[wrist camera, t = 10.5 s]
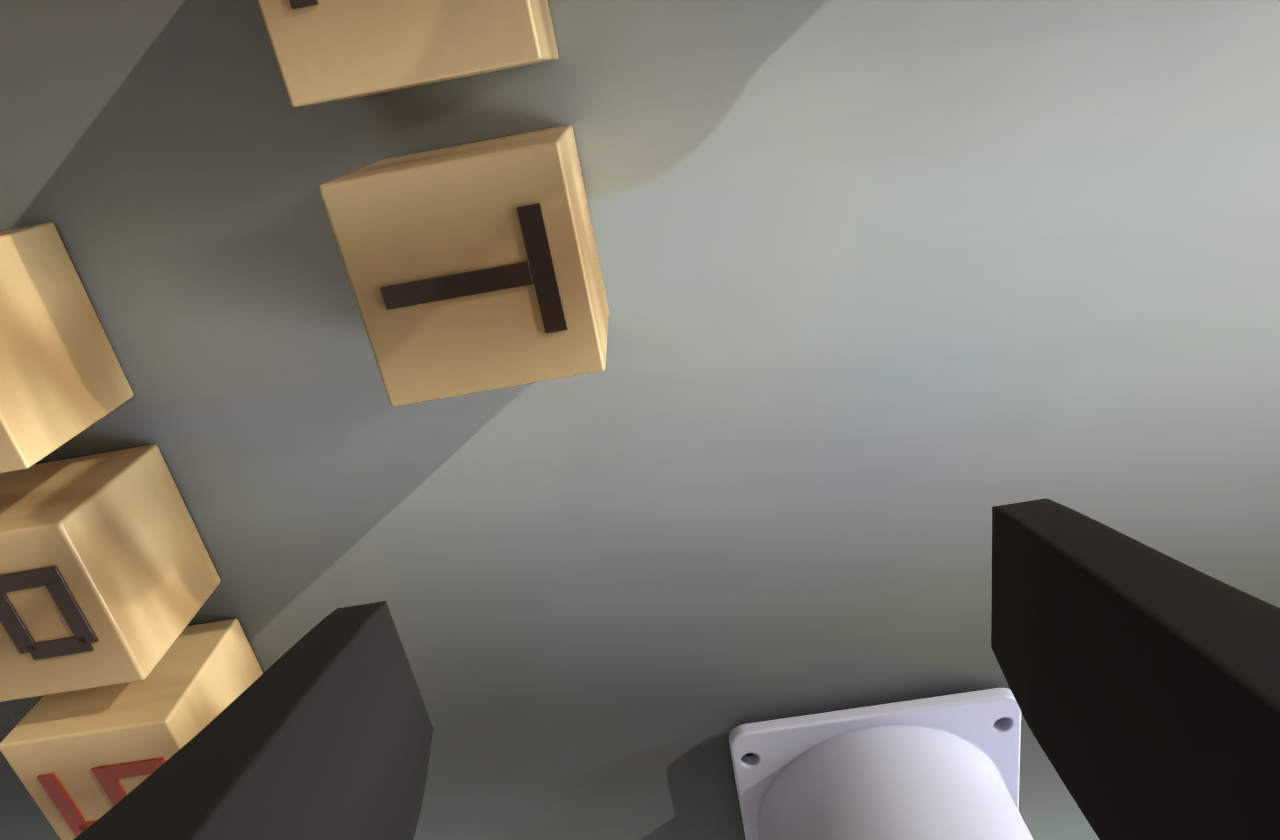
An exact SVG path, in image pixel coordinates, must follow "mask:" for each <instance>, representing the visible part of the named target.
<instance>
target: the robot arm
mask: <svg viewBox="0 0 1280 840" xmlns="http://www.w3.org/2000/svg"><path fill="white" fill-rule="evenodd" d="M991 647H992V650H993V652H994V654H995V656H996V658H997V661H998V663H999V665H1000V667H1001V669H1002V672H1003V674H1004V676H1005V678H1006V680H1007V683H1008V685H1009V687H1010V689H1011V690H1010V689H1007V688H993V689H986V690H979V691H972V692H965V693H958V694H951V695H944V696H937V697H930V698H923V699H916V700H909V701H902V702H895V703H888V704H881V705H874V706H867V707H860V708H853V709H846V710H839V711H832V712H825V713H818V714H811V715H804V716H797V717H790V718H783V719H776V720H769V721H762V722H755V723H748V724H743V725H739V726H737V727H735V728H734V729H733V730H732V731H731V732H730V734H729V745H730V751H731V757H732V763H733V769H734V775H735V780H736V786H737V792H738V798H739V804H740V809H741V815H742V821H743V827H744V833H745V838H746V840H1033V838H1032V836H1031V834H1030V832H1029V830H1028V828H1027V826H1026V824H1025V822H1024V821H1023V819H1022V817H1021V815H1020V813H1019V811H1018V805H1019V769H1020V733H1021V712H1022V714H1023V716H1024V718H1025V720H1026V722H1027V724H1028V726H1029V728H1030V729H1031V731H1032V733H1033V734H1034V736H1035V738H1036V739H1037V741H1038V743H1039V744H1040V746H1041V747H1042V749H1043V751H1044V752H1045V754H1046V755H1047V757H1048V759H1049V760H1050V762H1051V763H1052V765H1053V767H1054V768H1055V770H1056V771H1057V773H1058V775H1059V776H1060V778H1061V779H1062V781H1063V783H1064V784H1065V786H1066V787H1067V789H1068V791H1069V792H1070V794H1071V795H1072V797H1073V798H1074V800H1075V802H1076V803H1077V805H1078V806H1079V808H1080V809H1081V811H1082V813H1083V814H1084V816H1085V817H1086V819H1087V820H1088V822H1089V823H1090V825H1091V827H1092V828H1093V830H1094V831H1095V833H1096V834H1097V836H1098V838H1099V839H1100V840H1280V608H1278V607H1276V606H1274V605H1271V604H1269V603H1267V602H1265V601H1262V600H1260V599H1258V598H1256V597H1254V596H1251V595H1249V594H1247V593H1245V592H1243V591H1240V590H1238V589H1236V588H1234V587H1232V586H1230V585H1228V584H1225V583H1223V582H1221V581H1219V580H1217V579H1215V578H1213V577H1211V576H1208V575H1206V574H1204V573H1202V572H1200V571H1198V570H1196V569H1194V568H1192V567H1190V566H1188V565H1185V564H1183V563H1181V562H1179V561H1177V560H1175V559H1173V558H1171V557H1169V556H1167V555H1165V554H1163V553H1161V552H1159V551H1157V550H1155V549H1153V548H1151V547H1149V546H1147V545H1144V544H1142V543H1140V542H1138V541H1136V540H1134V539H1132V538H1130V537H1128V536H1126V535H1124V534H1122V533H1120V532H1118V531H1116V530H1114V529H1112V528H1110V527H1108V526H1106V525H1104V524H1102V523H1100V522H1098V521H1096V520H1093V519H1091V518H1089V517H1087V516H1085V515H1083V514H1081V513H1079V512H1077V511H1075V510H1072V509H1070V508H1068V507H1066V506H1063V505H1061V504H1059V503H1056V502H1054V501H1051V500H1049V499H1040V500H1034V501H1027V502H1021V503H1014V504H1008V505H1001V506H995V507H992V635H991ZM1003 717H1004V718H1003ZM1000 718H1003V719H1002V720H999V721H997V720H998V719H1000ZM432 733H433V727H432V724H431V721H430V719H429V716H428V713H427V710H426V708H425V705H424V702H423V700H422V697H421V694H420V692H419V689H418V686H417V684H416V681H415V678H414V676H413V673H412V670H411V668H410V665H409V662H408V659H407V657H406V654H405V651H404V649H403V646H402V643H401V641H400V638H399V635H398V633H397V630H396V627H395V625H394V622H393V619H392V617H391V614H390V611H389V608H388V606H387V603H386V601H383V602H377V603H370V604H364V605H357V606H351V607H344V608H338V609H336V610H335V611H333V612H332V613H331V614H330V615H328V616H327V617H326V618H325V619H323V620H322V621H321V622H320V623H319V624H317V625H316V626H315V627H314V628H313V629H312V630H310V631H309V632H308V633H307V634H306V635H305V636H304V637H303V638H301V639H300V640H299V641H298V642H297V643H296V644H295V645H294V646H293V647H292V648H290V649H289V650H288V651H287V652H286V653H285V654H284V655H283V656H282V657H281V658H280V659H279V660H277V661H276V662H275V663H274V664H273V665H272V666H271V667H270V668H269V669H268V670H267V671H266V672H264V673H263V674H262V675H261V676H260V677H259V678H258V679H257V680H256V681H255V682H254V683H253V684H252V685H250V686H249V687H248V688H247V689H246V690H245V691H244V692H243V693H242V694H241V695H240V696H238V697H237V698H236V699H235V700H234V701H233V702H232V703H231V704H230V705H229V706H228V707H226V708H225V709H224V710H223V711H222V712H221V713H220V714H219V715H218V716H217V717H216V718H214V719H213V720H212V721H211V722H210V723H209V724H208V725H207V726H206V727H205V728H204V729H202V730H201V731H200V732H199V733H198V734H197V735H196V736H195V737H194V738H193V739H191V740H190V741H189V742H188V743H187V744H186V745H184V746H183V747H182V748H181V749H180V750H179V751H177V752H176V753H175V754H174V755H173V756H172V757H171V758H169V759H168V760H167V761H166V762H165V763H164V764H162V765H161V766H160V767H159V768H158V769H157V770H155V771H154V772H153V773H152V774H151V775H150V776H148V777H147V778H146V779H145V780H144V781H143V782H141V783H140V784H139V785H138V786H137V787H136V788H135V789H133V790H132V791H131V792H130V793H129V794H128V795H126V796H125V797H124V798H123V799H122V800H121V801H119V802H118V803H117V804H116V805H115V806H114V807H112V808H111V809H110V810H109V811H108V812H107V813H105V814H104V815H103V816H102V817H101V818H99V819H98V820H97V821H96V822H94V823H93V824H92V825H91V826H90V827H88V828H87V829H86V830H85V831H83V832H82V833H81V834H80V835H78V836H77V837H76V838H75V839H73V840H413V838H414V834H415V831H416V827H417V823H418V819H419V816H420V812H421V807H422V801H423V795H424V789H425V783H426V777H427V770H428V763H429V755H430V748H431V741H432ZM748 753H754V754H753V755H750V756H744V755H745V754H748Z"/></svg>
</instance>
